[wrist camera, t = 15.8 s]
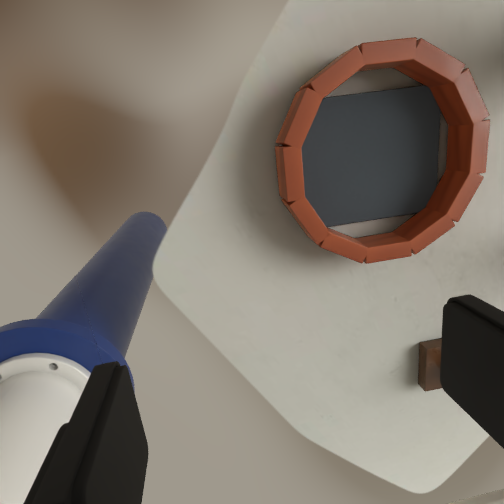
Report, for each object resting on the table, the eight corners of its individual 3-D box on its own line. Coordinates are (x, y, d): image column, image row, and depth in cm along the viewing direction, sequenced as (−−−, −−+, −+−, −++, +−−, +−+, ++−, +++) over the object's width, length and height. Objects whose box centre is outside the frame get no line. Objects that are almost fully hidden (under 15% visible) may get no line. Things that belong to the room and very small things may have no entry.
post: (417, 383, 44) (440, 409, 40) (419, 342, 42) (443, 365, 38) (462, 374, 45) (490, 399, 40) (466, 333, 43) (495, 354, 38)
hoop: (286, 263, 36) (294, 276, 33) (266, 61, 30) (273, 52, 27) (456, 235, 38) (479, 245, 35) (469, 38, 32) (498, 27, 29)
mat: (303, 229, 36) (304, 230, 35) (293, 101, 32) (294, 101, 32) (433, 209, 37) (436, 210, 37) (438, 84, 33) (441, 83, 33)
